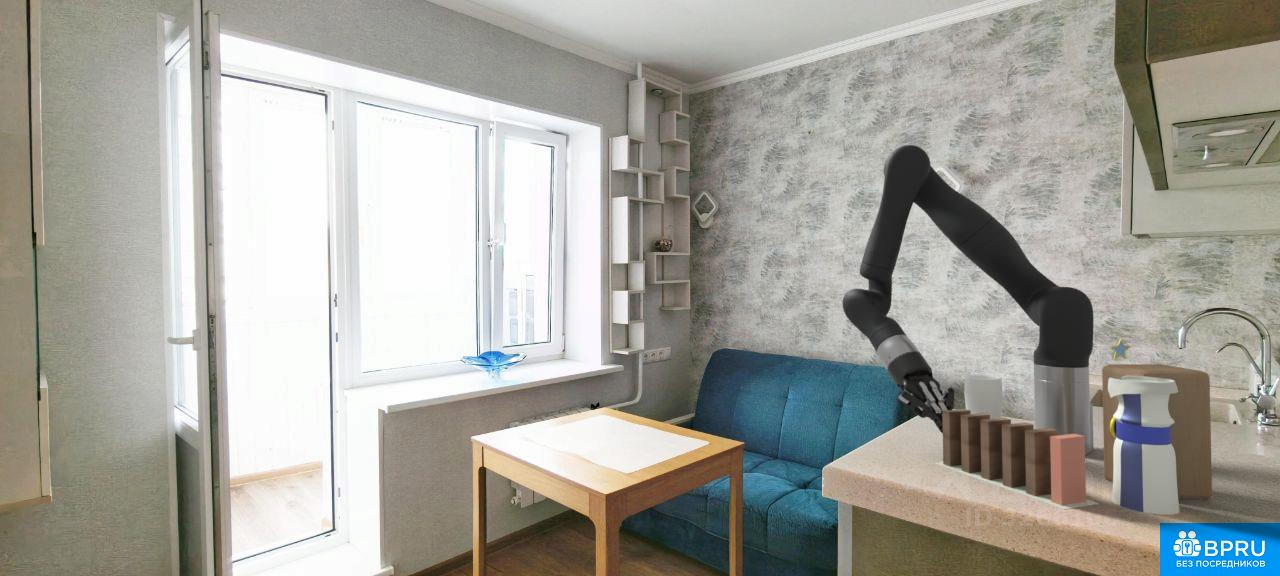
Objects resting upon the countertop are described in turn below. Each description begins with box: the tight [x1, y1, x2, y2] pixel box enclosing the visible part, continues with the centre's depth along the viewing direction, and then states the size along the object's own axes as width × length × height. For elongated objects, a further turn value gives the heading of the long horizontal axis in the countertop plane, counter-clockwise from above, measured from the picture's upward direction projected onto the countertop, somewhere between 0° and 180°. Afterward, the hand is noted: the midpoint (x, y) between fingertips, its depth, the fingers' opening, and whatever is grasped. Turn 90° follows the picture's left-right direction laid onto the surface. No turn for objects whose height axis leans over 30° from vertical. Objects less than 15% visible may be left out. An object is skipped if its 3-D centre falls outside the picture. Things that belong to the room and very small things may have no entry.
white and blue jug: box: [1108, 338, 1180, 516], centre depth 88 cm, size 8×9×25 cm
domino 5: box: [1025, 428, 1058, 496], centre depth 94 cm, size 5×2×10 cm, turn 107°
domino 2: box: [961, 413, 990, 473], centre depth 106 cm, size 5×2×10 cm, turn 107°
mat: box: [934, 461, 1099, 510], centre depth 100 cm, size 7×25×1 cm, turn 17°
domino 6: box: [1050, 434, 1087, 505], centre depth 90 cm, size 5×2×10 cm, turn 107°
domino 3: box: [980, 417, 1012, 480], centre depth 102 cm, size 5×2×10 cm, turn 107°
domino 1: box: [942, 408, 971, 467], centre depth 110 cm, size 5×2×10 cm, turn 107°
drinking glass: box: [963, 374, 1003, 419], centre depth 121 cm, size 7×7×15 cm
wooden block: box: [1101, 363, 1213, 501], centre depth 96 cm, size 10×10×20 cm
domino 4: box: [1002, 422, 1035, 488], centre depth 98 cm, size 5×2×10 cm, turn 107°
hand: (951, 433), depth 111 cm, fingers closed
